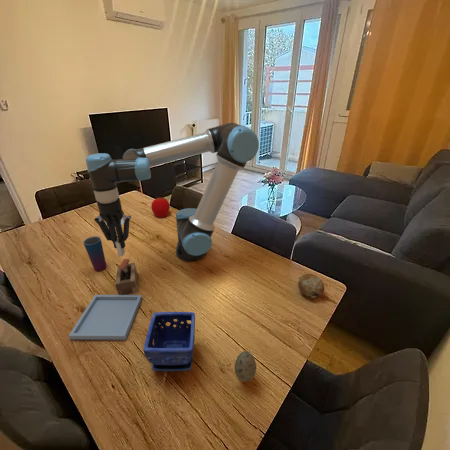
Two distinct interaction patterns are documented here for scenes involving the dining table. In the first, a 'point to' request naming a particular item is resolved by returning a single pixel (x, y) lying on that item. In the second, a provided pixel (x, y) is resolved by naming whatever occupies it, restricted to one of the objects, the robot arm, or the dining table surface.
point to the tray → (107, 318)
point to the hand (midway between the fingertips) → (121, 254)
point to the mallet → (125, 268)
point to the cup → (95, 252)
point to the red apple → (160, 207)
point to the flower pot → (170, 341)
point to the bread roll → (311, 285)
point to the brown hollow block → (129, 284)
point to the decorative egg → (245, 366)
